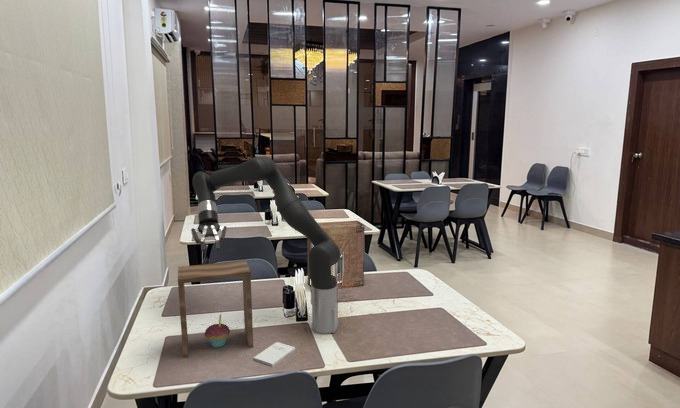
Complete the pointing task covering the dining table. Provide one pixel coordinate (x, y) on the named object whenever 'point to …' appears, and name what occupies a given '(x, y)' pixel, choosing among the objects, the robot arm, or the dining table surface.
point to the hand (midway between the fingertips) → (210, 250)
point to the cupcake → (217, 334)
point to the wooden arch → (215, 273)
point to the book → (347, 250)
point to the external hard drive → (274, 354)
